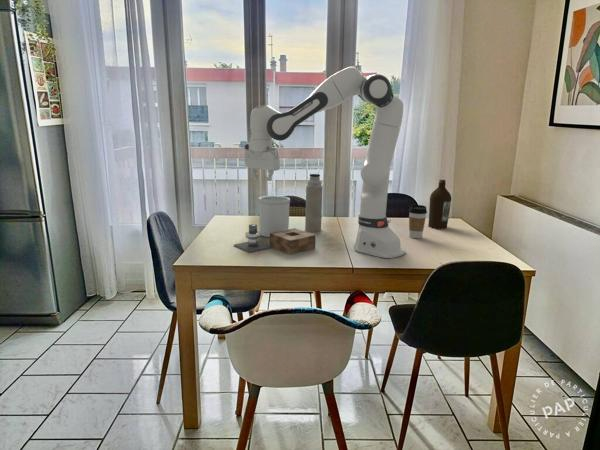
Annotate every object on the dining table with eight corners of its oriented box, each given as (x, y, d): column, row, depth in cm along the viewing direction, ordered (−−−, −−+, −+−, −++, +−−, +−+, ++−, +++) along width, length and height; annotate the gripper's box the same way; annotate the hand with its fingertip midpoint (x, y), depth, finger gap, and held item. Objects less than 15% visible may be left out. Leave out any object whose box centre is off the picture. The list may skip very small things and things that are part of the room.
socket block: (315, 248, 186) (315, 234, 184) (290, 254, 177) (290, 240, 175) (294, 240, 196) (294, 228, 194) (269, 246, 187) (269, 233, 185)
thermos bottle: (305, 227, 219) (307, 172, 212) (321, 228, 219) (323, 173, 212) (304, 231, 212) (305, 175, 205) (320, 232, 211) (322, 175, 204)
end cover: (263, 245, 185) (263, 225, 183) (251, 248, 181) (250, 227, 179) (255, 242, 190) (254, 222, 188) (242, 245, 186) (242, 224, 184)
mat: (272, 247, 185) (272, 246, 185) (249, 252, 178) (249, 251, 177) (256, 241, 194) (256, 239, 194) (233, 245, 186) (233, 244, 186)
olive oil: (423, 226, 226) (427, 179, 220) (433, 223, 234) (438, 177, 227) (441, 230, 219) (447, 182, 213) (451, 227, 226) (457, 180, 220)
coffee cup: (427, 237, 207) (430, 206, 203) (419, 240, 201) (422, 209, 197) (411, 233, 212) (414, 203, 209) (403, 236, 206) (405, 206, 203)
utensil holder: (269, 228, 216) (270, 194, 212) (295, 232, 209) (295, 197, 205) (252, 234, 204) (252, 198, 200) (278, 239, 197) (279, 202, 193)
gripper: (283, 147, 172) (283, 181, 176) (253, 144, 187) (254, 176, 190) (271, 148, 168) (271, 183, 171) (241, 145, 183) (242, 177, 186)
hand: (262, 179), depth 181 cm, fingers open, 8 cm apart
